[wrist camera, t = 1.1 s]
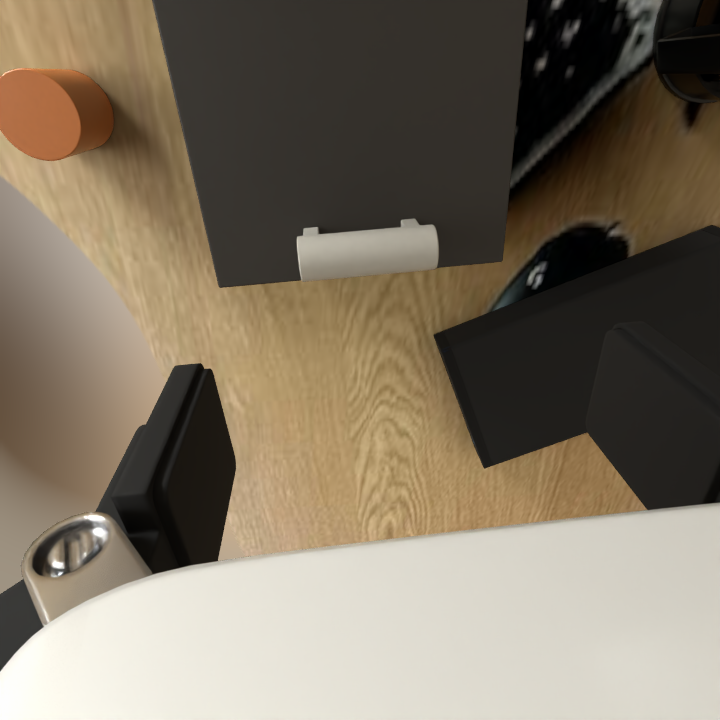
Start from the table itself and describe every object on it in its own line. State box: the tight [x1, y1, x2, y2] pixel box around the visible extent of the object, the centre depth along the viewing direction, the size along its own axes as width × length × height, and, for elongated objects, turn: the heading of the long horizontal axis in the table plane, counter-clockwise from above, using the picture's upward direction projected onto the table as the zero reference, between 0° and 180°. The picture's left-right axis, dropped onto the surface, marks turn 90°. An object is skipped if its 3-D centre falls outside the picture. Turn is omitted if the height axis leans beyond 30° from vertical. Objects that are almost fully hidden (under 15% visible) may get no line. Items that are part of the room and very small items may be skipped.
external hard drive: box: [434, 225, 720, 469], centre depth 41 cm, size 14×23×3 cm, turn 112°
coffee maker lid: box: [152, 0, 528, 288], centre depth 18 cm, size 16×14×5 cm
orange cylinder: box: [0, 68, 114, 161], centre depth 27 cm, size 4×4×5 cm
